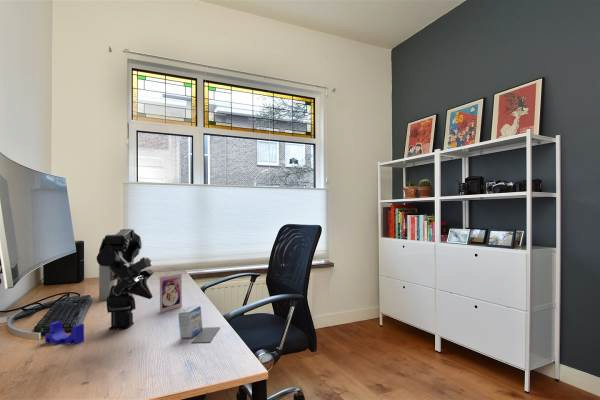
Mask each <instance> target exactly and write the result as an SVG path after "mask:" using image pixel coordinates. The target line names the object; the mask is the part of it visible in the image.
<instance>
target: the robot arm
mask: <svg viewBox="0 0 600 400" xmlns="http://www.w3.org/2000/svg"><path fill="white" fill-rule="evenodd" d="M142 246H143V244H142V239H141V236H140V235H138V234H137V233H136V232H135V230H134V229H133V228H131V229H130V228H123V229H120V230H119V231H118V232H117V233H115V234H106V235H105V236H104V237H103V239H102V240H101V244H100V246H99V250H98V253H97V256H96V261H97V264H98V265H99V264H100V265H101V266H104V267H106V268H108V269H109V270H110V271H111V272H112V273H113V274H114V275H113V277H114V278H118V280H117V284H116V285H115V286H112V287H111V289H110V294H109V296H108V297H107V300H106V311H107V313H108V314H110V326H109V327H108V330H126V329H128V328H129V327H132V325H134V324H135V322H134V313H133V312H132V311H134V310H136V300H135V297H134V295H135V296H139V297H142V298H144V299H147V300H151V299H152V298H153V294H152V292H151V291H150V289H149V287H148V286H149V285H148V284H147V282H148V280H149V279H150V277H151V276H152V275H153V274H154V271H153V270H152V269H149V268H150V267H151V266H152V264H151V262H152V260H151V259H150V258H149V257H147V256H143V257H142V258H140V259H139V261H137V262H135V261H134V259H135V258H137V256H139V254H140V251H141V249H142ZM119 252H121V255H122V256H121V255H120V254H119ZM147 268H148V269H147Z"/></svg>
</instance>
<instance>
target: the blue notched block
mask: <svg viewBox="0 0 600 400" xmlns="http://www.w3.org/2000/svg"><path fill="white" fill-rule="evenodd" d="M62 322H63V321H62V320H57V321H54V322H51V323H49V332H48V333H45V334H44V336H45V337H44V343H45V342H49V343H48V344H51V343H55V344H54V345H61V344H67V343H70V345H75V344H76V345H78V344H81V343H83V342H84V341H85V324H84V323H77V324H75V325H73V326H71V332H70V334H68V333H67V332H66V331H65V330H64V327H63V323H62ZM62 342H64V343H62ZM72 343H74V344H72Z"/></svg>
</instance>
